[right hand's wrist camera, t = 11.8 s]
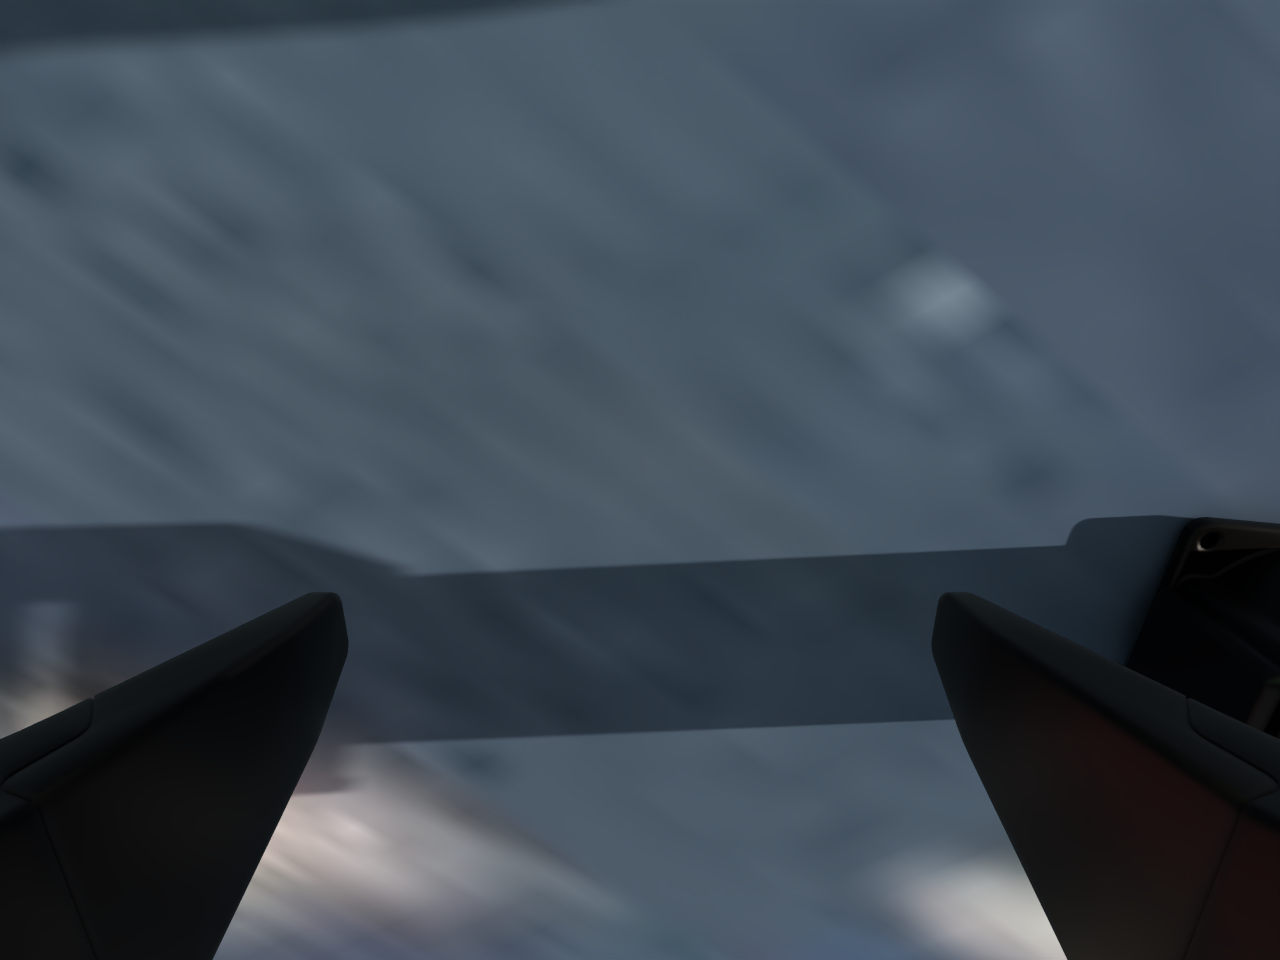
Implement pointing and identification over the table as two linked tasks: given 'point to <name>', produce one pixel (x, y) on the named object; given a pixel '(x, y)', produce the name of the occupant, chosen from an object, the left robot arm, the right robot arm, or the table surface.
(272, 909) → the table surface
